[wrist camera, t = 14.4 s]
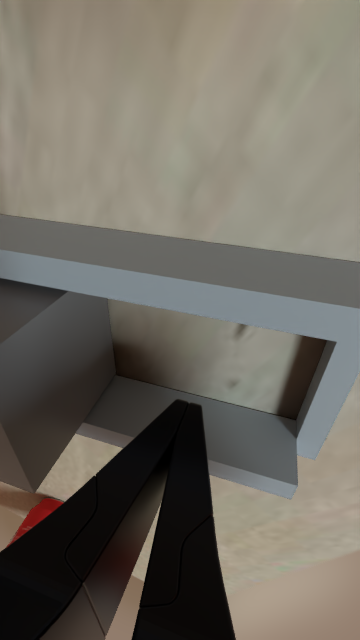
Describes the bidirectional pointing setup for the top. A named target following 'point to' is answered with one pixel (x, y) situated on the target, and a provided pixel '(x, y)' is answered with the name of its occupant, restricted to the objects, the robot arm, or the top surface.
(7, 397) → the block
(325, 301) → the tray
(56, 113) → the top surface
